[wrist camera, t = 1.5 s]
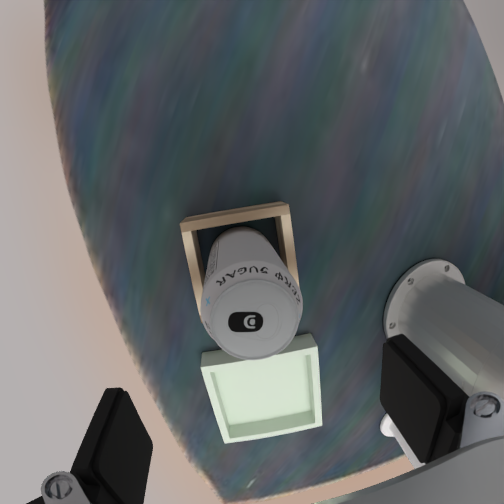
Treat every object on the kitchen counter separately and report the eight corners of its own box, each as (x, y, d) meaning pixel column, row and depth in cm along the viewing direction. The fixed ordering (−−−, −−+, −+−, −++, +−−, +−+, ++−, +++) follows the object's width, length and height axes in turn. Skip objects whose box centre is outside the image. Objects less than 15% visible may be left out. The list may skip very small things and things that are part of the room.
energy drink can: (270, 284, 32) (304, 366, 18) (210, 284, 32) (200, 369, 17) (272, 225, 31) (314, 267, 16) (209, 224, 30) (195, 268, 16)
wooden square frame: (292, 290, 33) (301, 305, 29) (204, 306, 32) (201, 323, 28) (280, 201, 30) (288, 204, 26) (185, 217, 30) (179, 223, 26)
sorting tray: (316, 410, 37) (322, 425, 34) (224, 427, 36) (224, 443, 33) (310, 333, 34) (317, 346, 31) (202, 352, 33) (200, 367, 30)
